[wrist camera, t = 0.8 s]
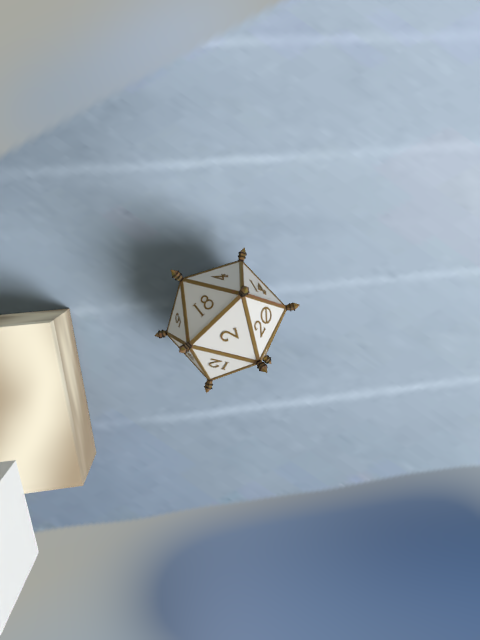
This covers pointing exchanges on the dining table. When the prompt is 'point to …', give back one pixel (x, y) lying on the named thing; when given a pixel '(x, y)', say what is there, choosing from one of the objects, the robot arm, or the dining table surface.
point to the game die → (224, 319)
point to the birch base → (43, 401)
